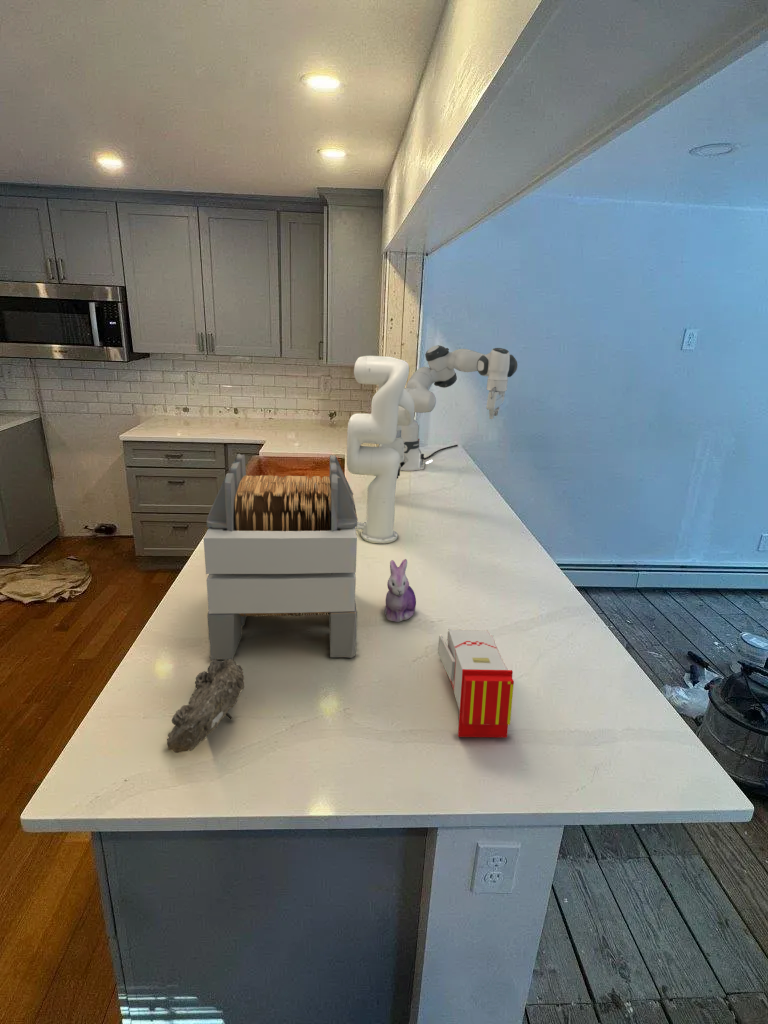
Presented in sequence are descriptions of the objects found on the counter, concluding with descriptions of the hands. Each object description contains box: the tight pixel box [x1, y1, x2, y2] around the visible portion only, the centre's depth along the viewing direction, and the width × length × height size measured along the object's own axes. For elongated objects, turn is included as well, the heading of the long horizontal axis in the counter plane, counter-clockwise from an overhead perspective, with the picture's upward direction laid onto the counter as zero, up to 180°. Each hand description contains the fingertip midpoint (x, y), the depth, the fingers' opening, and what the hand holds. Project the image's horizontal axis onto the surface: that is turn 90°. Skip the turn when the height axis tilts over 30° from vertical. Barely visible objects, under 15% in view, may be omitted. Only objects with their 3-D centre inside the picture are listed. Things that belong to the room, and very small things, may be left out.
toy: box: [437, 628, 515, 738], centre depth 117 cm, size 12×13×30 cm
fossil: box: [166, 659, 245, 754], centre depth 106 cm, size 22×10×15 cm
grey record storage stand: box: [203, 453, 359, 661], centre depth 135 cm, size 34×33×41 cm
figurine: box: [384, 558, 417, 623], centre depth 145 cm, size 9×10×15 cm
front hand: (389, 477), depth 231 cm, fingers closed on block, 5 cm apart
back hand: (493, 417), depth 257 cm, fingers open, 8 cm apart
